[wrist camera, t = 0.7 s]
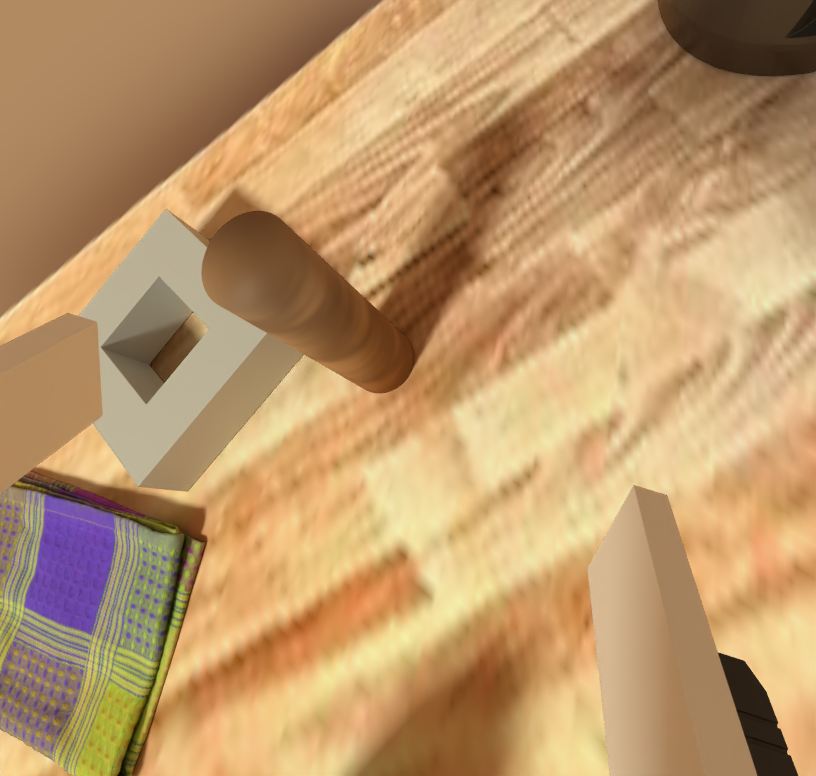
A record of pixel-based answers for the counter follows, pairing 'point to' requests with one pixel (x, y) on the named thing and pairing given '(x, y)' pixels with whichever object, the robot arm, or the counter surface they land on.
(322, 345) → the walnut dowel
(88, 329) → the robot arm
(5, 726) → the dish towel
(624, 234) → the counter surface
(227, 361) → the socket block
